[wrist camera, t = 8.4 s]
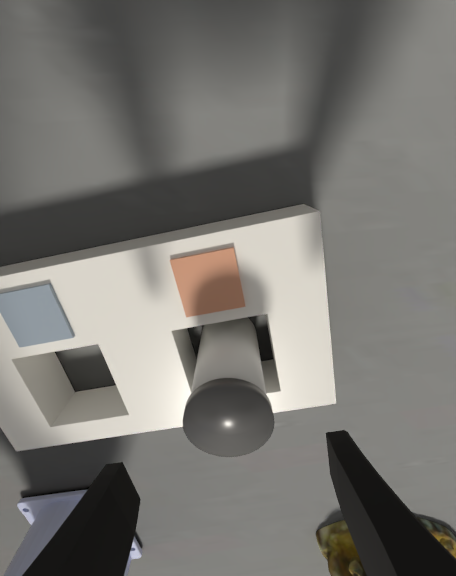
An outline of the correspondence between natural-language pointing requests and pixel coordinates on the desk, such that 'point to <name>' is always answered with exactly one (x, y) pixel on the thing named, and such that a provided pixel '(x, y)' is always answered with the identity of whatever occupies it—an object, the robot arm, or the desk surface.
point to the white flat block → (160, 324)
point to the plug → (228, 392)
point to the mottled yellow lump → (345, 556)
